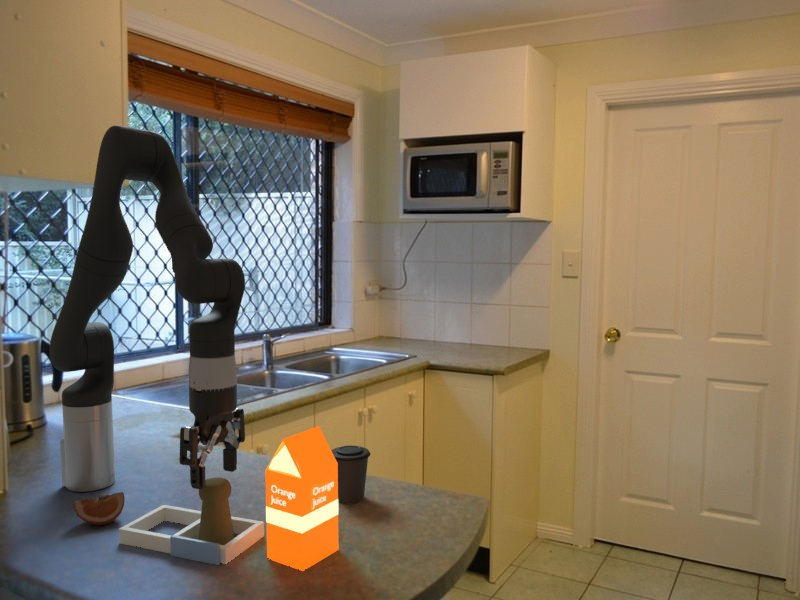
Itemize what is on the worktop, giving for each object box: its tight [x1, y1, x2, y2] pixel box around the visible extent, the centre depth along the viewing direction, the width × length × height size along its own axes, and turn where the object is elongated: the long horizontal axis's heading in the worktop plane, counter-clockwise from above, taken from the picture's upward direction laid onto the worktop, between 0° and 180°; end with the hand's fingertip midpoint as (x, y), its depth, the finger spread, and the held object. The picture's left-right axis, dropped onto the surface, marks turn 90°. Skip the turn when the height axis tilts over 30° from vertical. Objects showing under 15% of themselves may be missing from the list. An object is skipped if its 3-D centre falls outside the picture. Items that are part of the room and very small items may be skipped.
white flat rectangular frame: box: [118, 504, 265, 566], centre depth 116 cm, size 21×12×3 cm, turn 69°
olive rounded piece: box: [197, 476, 235, 545], centre depth 114 cm, size 6×6×11 cm
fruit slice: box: [72, 491, 125, 526], centre depth 124 cm, size 8×7×5 cm
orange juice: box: [264, 425, 340, 572], centre depth 110 cm, size 8×9×20 cm
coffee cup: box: [331, 445, 371, 505], centre depth 134 cm, size 8×8×10 cm
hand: (214, 479), depth 114 cm, fingers open, 8 cm apart
